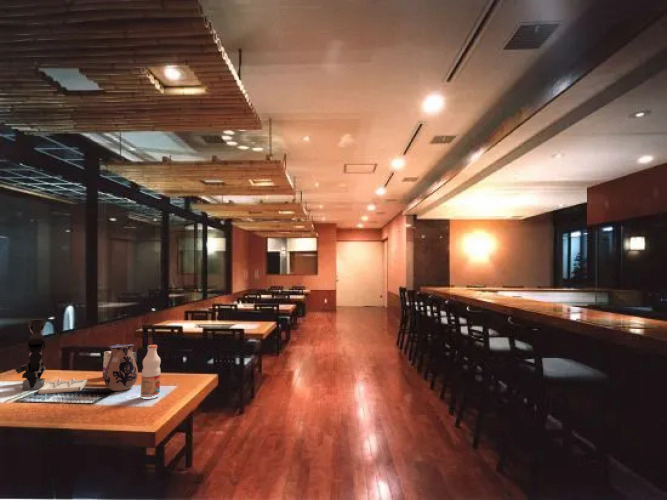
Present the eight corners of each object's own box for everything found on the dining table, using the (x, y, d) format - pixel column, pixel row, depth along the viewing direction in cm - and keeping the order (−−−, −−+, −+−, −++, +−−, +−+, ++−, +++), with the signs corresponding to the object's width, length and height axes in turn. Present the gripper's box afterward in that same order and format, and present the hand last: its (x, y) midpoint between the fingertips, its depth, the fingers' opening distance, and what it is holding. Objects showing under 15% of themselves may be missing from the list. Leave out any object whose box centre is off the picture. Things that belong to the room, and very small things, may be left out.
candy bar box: (121, 377, 256) (122, 351, 257) (114, 379, 252) (115, 353, 253) (109, 375, 261) (110, 350, 262) (102, 377, 256) (103, 351, 257)
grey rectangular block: (25, 387, 231) (26, 379, 231) (44, 386, 234) (44, 378, 234) (22, 390, 226) (22, 381, 226) (40, 389, 229) (41, 380, 229)
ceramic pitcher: (111, 395, 220) (114, 349, 221) (95, 388, 232) (97, 345, 234) (143, 388, 234) (145, 345, 235) (125, 382, 246) (127, 341, 248)
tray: (47, 385, 236) (48, 378, 236) (86, 383, 243) (87, 375, 243) (38, 394, 220) (38, 385, 220) (80, 390, 227) (80, 382, 227)
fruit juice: (139, 396, 219) (141, 344, 221) (157, 393, 224) (159, 343, 226) (141, 400, 211) (144, 347, 213) (160, 398, 217) (163, 346, 218)
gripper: (24, 356, 237) (22, 383, 236) (11, 363, 219) (9, 392, 218) (46, 355, 241) (45, 382, 240) (36, 362, 223) (34, 390, 222)
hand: (33, 386), depth 230 cm, fingers closed on grey rectangular block, 5 cm apart
